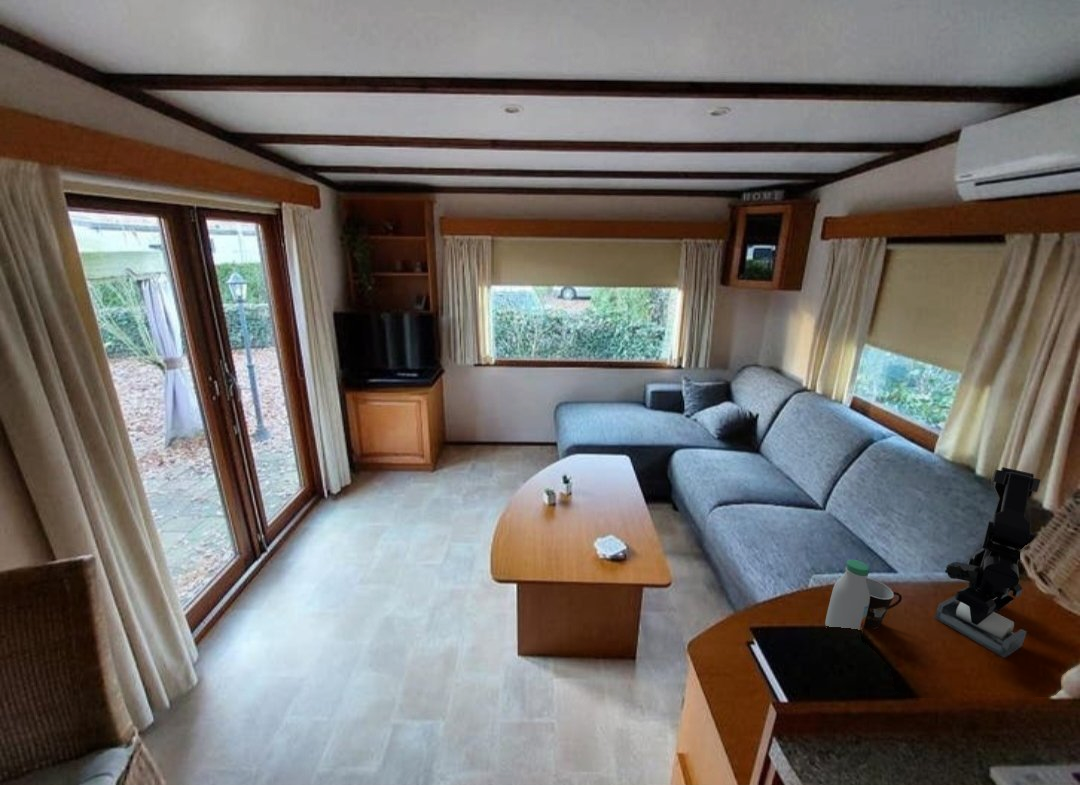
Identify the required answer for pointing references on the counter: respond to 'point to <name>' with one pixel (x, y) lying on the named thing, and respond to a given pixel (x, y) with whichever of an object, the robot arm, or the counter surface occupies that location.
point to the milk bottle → (850, 598)
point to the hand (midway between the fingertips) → (980, 620)
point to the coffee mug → (878, 602)
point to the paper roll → (988, 622)
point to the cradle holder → (978, 630)
